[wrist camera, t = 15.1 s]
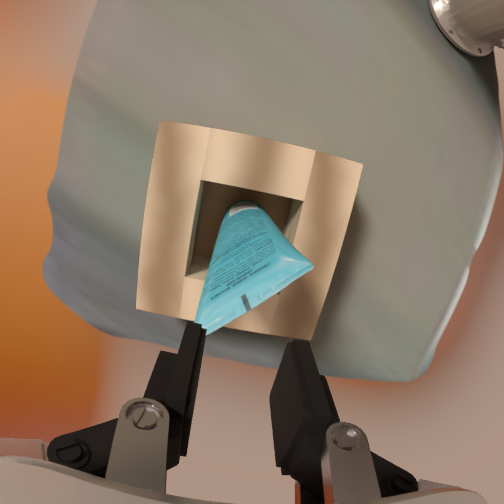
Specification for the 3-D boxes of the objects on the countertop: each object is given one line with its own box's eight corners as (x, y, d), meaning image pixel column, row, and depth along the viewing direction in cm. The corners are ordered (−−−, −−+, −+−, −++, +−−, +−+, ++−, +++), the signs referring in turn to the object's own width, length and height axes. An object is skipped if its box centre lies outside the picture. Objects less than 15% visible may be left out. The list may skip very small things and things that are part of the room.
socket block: (337, 161, 33) (363, 164, 26) (298, 304, 39) (310, 340, 31) (178, 127, 32) (160, 120, 24) (155, 278, 37) (136, 308, 29)
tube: (234, 258, 35) (224, 370, 17) (205, 226, 34) (161, 312, 15) (287, 216, 34) (335, 294, 15) (258, 182, 32) (276, 220, 14)
